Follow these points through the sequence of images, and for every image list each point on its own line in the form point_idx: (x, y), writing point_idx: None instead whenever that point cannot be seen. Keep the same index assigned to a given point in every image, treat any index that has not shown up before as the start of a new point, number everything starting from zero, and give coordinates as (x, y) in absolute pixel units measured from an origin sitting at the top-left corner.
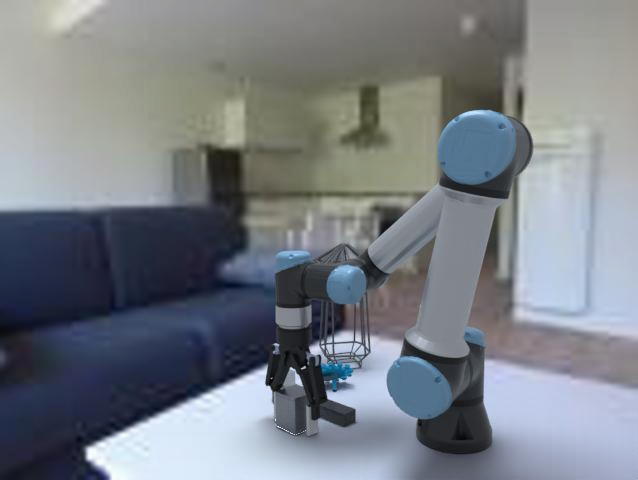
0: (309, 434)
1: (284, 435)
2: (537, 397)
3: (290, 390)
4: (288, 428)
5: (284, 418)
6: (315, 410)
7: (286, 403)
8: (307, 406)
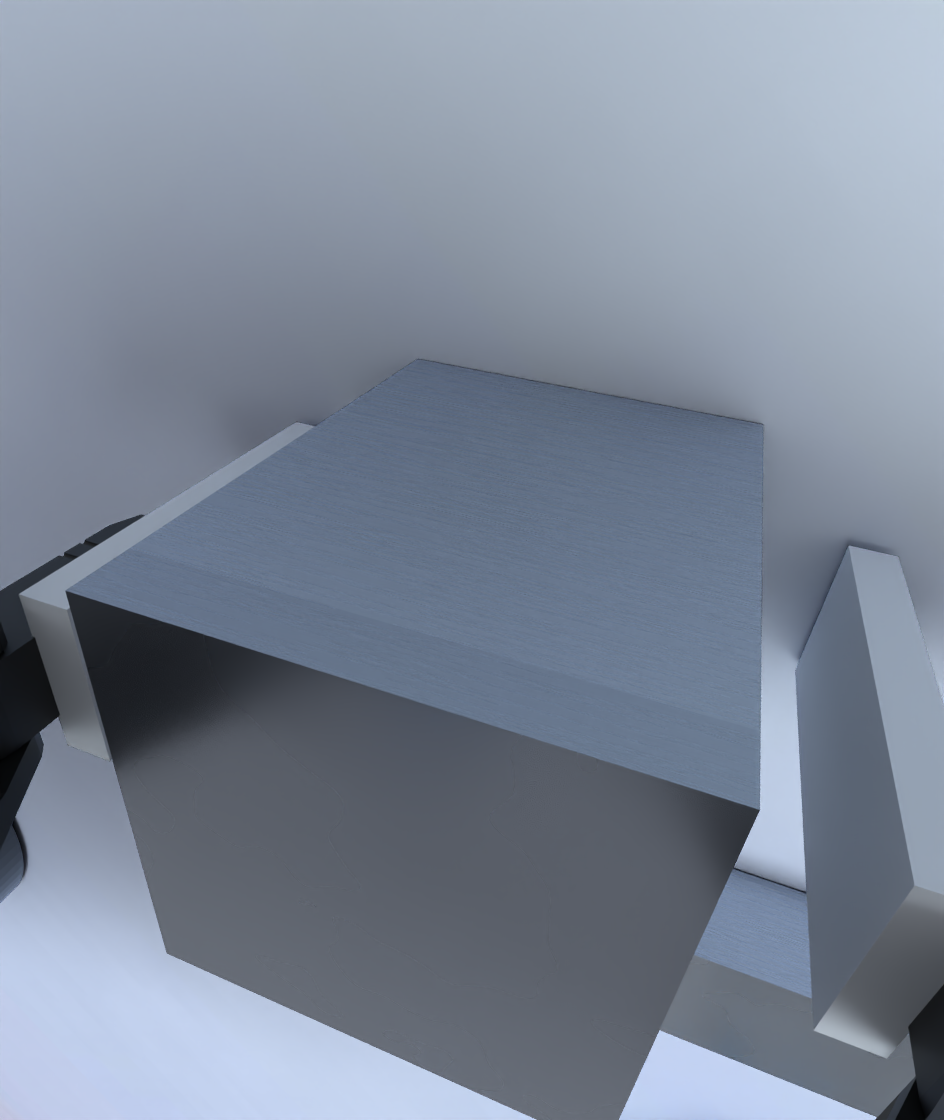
0: (285, 430)
1: (530, 301)
2: (13, 1070)
3: (470, 921)
4: (509, 396)
5: (557, 455)
6: (20, 583)
7: (404, 569)
8: (59, 592)
